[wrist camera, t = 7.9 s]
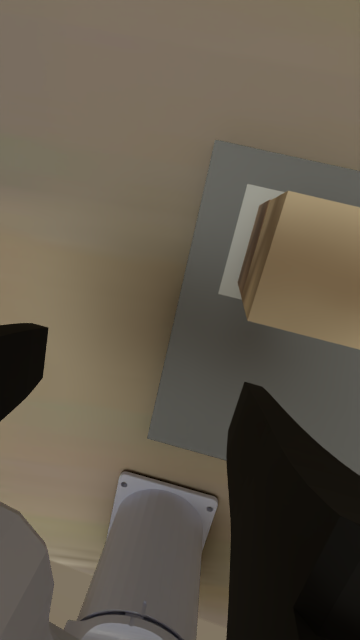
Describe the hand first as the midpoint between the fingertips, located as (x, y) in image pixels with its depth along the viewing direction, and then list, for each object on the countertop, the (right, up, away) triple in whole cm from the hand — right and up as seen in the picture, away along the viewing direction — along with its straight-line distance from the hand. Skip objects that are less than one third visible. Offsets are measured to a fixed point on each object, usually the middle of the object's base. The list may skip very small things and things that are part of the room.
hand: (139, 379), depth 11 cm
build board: (+9, +1, +9) cm, 13 cm away
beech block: (+7, +5, +3) cm, 9 cm away
